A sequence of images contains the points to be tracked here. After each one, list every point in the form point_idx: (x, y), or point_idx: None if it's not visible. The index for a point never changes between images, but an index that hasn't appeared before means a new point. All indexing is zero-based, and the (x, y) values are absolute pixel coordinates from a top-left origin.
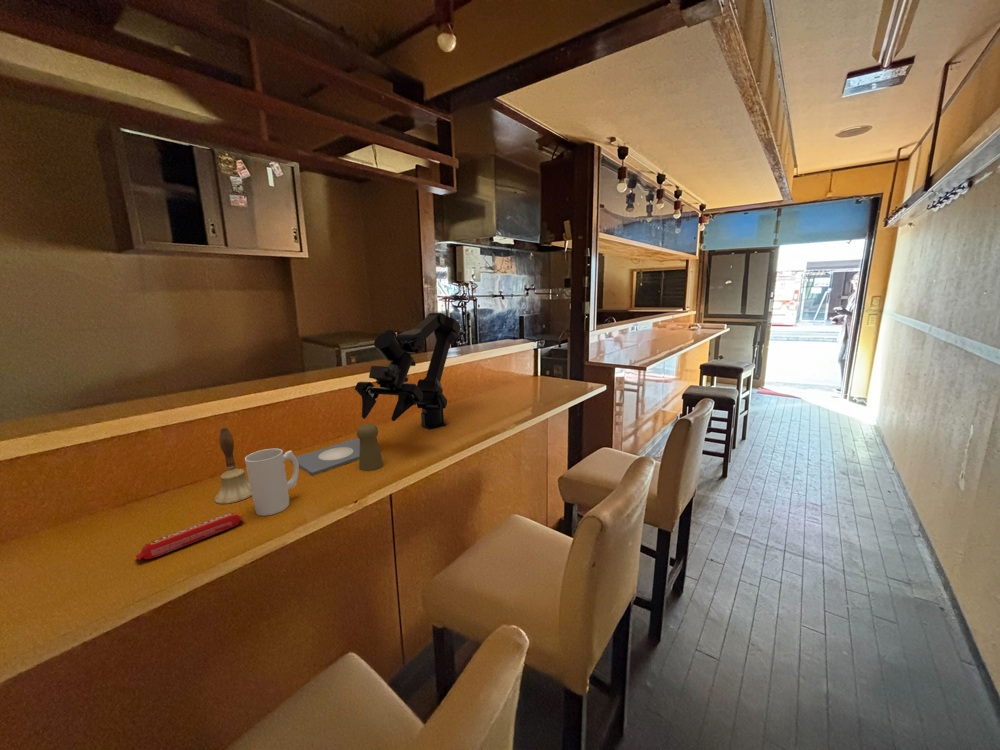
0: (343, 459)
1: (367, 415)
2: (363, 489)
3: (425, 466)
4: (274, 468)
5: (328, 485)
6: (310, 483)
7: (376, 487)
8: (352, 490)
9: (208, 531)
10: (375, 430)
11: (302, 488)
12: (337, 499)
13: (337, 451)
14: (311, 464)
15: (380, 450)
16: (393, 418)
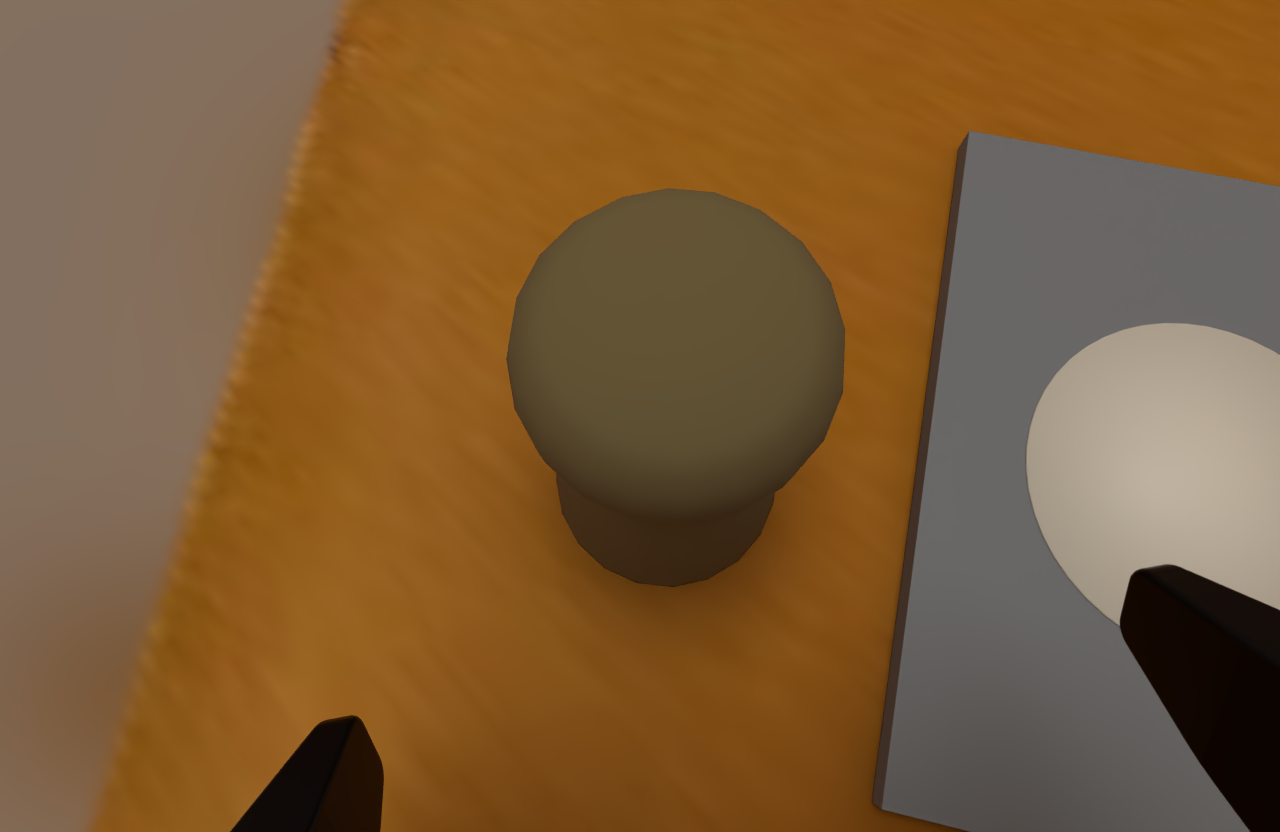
0: (991, 417)
1: (1186, 740)
2: (404, 164)
3: (156, 694)
4: None
5: (696, 103)
6: (847, 70)
7: (333, 221)
8: (469, 124)
9: None
10: (511, 370)
11: (825, 9)
12: (469, 15)
13: (1245, 526)
14: (1144, 221)
15: (875, 802)
16: (310, 754)
